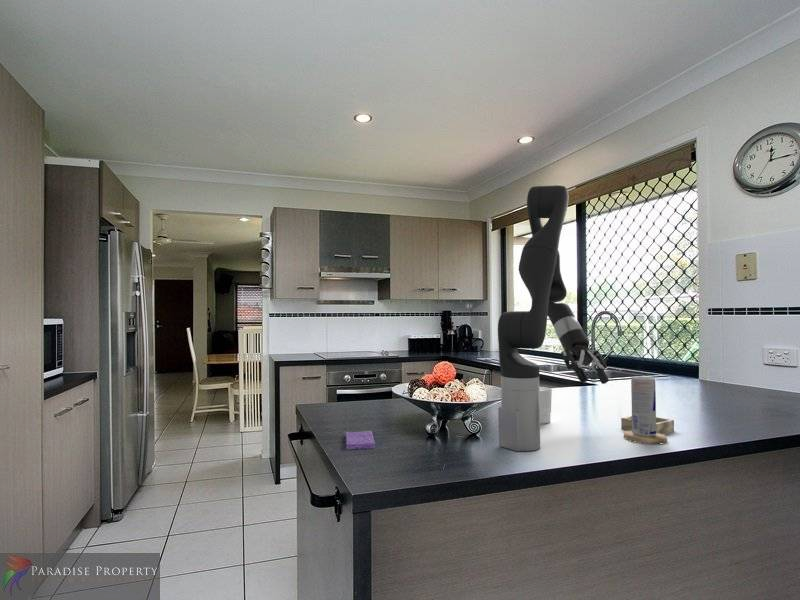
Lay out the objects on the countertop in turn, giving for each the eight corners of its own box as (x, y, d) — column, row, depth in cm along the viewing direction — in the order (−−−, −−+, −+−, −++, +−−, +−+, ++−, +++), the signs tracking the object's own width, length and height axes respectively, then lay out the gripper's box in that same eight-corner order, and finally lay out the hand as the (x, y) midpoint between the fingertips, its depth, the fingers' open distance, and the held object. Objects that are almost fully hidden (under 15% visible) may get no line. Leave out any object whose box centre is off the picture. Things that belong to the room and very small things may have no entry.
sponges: (346, 451, 113) (346, 443, 114) (345, 438, 126) (345, 431, 126) (375, 450, 114) (375, 442, 114) (371, 437, 127) (371, 430, 127)
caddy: (655, 435, 125) (654, 424, 125) (621, 428, 133) (621, 418, 133) (674, 431, 130) (673, 420, 130) (640, 424, 138) (640, 414, 138)
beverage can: (660, 437, 119) (659, 378, 120) (638, 437, 119) (637, 378, 120) (649, 432, 125) (648, 375, 125) (628, 432, 125) (627, 375, 125)
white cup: (546, 425, 137) (546, 391, 137) (521, 422, 142) (520, 388, 142) (555, 420, 143) (555, 388, 143) (531, 417, 148) (530, 385, 148)
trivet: (653, 446, 115) (653, 442, 115) (615, 437, 123) (615, 433, 123) (674, 440, 120) (674, 436, 120) (637, 432, 129) (637, 428, 129)
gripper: (562, 325, 136) (587, 374, 127) (595, 329, 143) (621, 376, 133) (545, 340, 141) (568, 388, 132) (578, 343, 148) (603, 389, 138)
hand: (595, 382), depth 133 cm, fingers open, 8 cm apart
